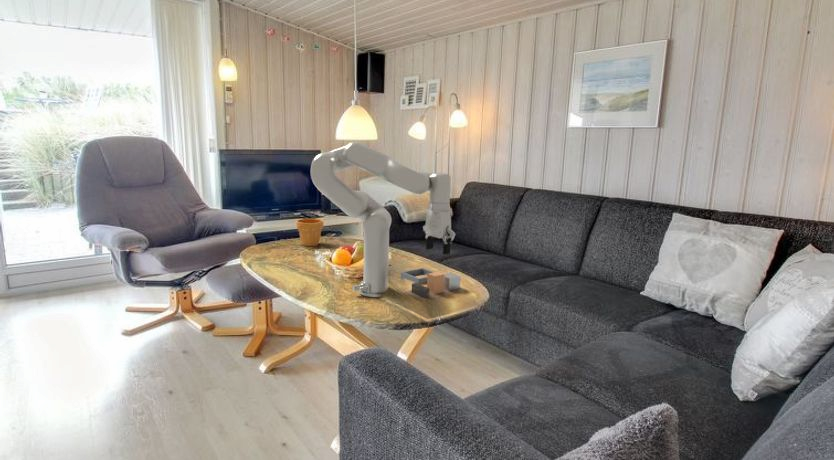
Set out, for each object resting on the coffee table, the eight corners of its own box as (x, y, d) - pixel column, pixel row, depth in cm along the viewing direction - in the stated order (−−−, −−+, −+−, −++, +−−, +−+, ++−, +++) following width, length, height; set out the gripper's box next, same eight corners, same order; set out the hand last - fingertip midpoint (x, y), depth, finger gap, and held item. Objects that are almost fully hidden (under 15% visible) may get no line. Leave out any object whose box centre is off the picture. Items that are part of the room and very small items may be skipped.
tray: (418, 287, 195) (418, 279, 195) (400, 279, 204) (400, 271, 204) (440, 282, 203) (441, 274, 202) (422, 275, 212) (422, 267, 211)
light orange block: (433, 294, 183) (434, 276, 182) (426, 291, 186) (427, 273, 185) (443, 291, 186) (444, 274, 185) (436, 289, 189) (437, 271, 188)
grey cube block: (448, 291, 187) (449, 278, 186) (439, 287, 191) (439, 274, 190) (460, 288, 191) (460, 276, 190) (450, 284, 195) (451, 272, 194)
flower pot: (292, 246, 256) (291, 222, 254) (302, 240, 270) (302, 217, 268) (317, 248, 254) (317, 223, 252) (327, 242, 268) (327, 219, 265)
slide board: (421, 305, 175) (422, 292, 174) (401, 296, 184) (402, 283, 183) (467, 294, 189) (468, 282, 188) (446, 286, 198) (447, 274, 197)
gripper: (417, 204, 184) (415, 248, 188) (447, 210, 171) (445, 257, 174) (432, 203, 189) (430, 245, 192) (462, 209, 176) (460, 254, 179)
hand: (437, 251), depth 183 cm, fingers open, 9 cm apart
